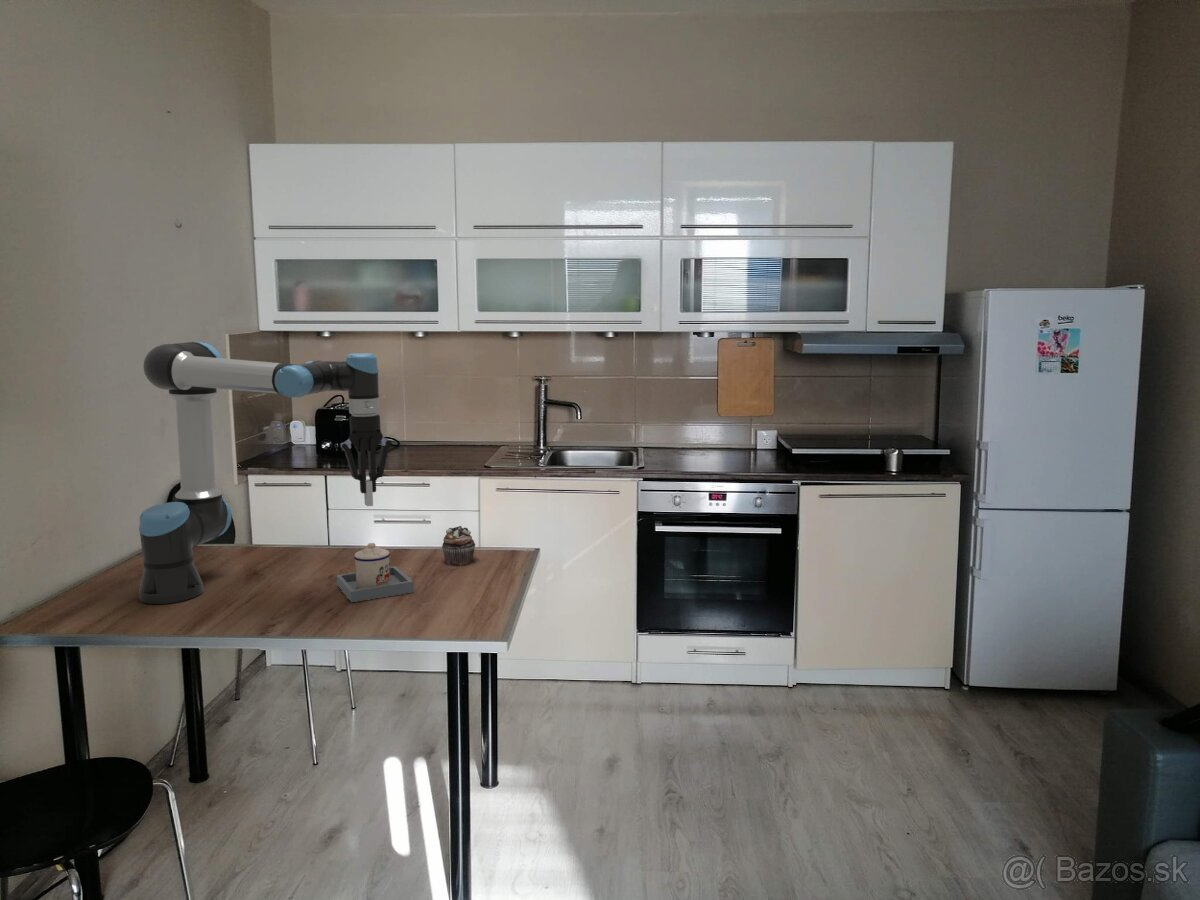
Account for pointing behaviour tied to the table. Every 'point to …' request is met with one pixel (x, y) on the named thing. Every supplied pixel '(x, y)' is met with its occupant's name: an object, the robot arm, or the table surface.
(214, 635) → the table surface
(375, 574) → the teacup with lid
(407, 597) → the table surface
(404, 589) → the square tray
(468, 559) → the cupcake
